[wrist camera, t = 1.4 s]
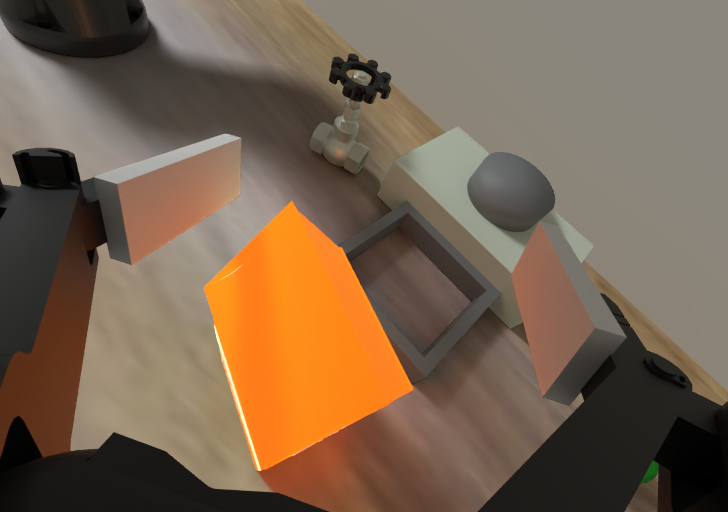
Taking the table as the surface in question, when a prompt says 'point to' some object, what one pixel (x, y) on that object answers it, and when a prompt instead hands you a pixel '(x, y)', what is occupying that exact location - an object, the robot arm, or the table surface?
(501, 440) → the table surface
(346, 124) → the valve
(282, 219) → the orange juice
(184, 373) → the table surface
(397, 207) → the grey boxy fixture
